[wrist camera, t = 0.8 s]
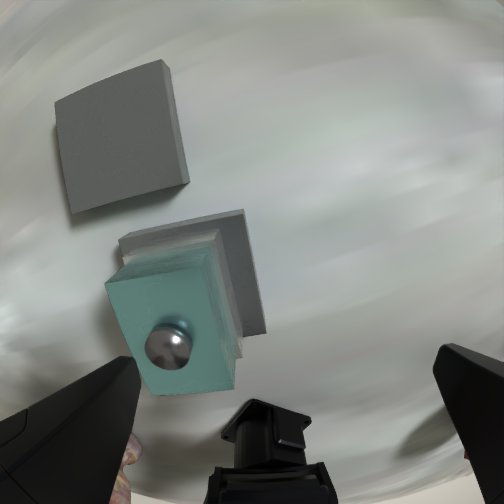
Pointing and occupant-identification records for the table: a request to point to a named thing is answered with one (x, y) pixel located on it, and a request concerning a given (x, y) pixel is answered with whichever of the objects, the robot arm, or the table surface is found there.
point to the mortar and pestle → (122, 486)
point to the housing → (179, 313)
